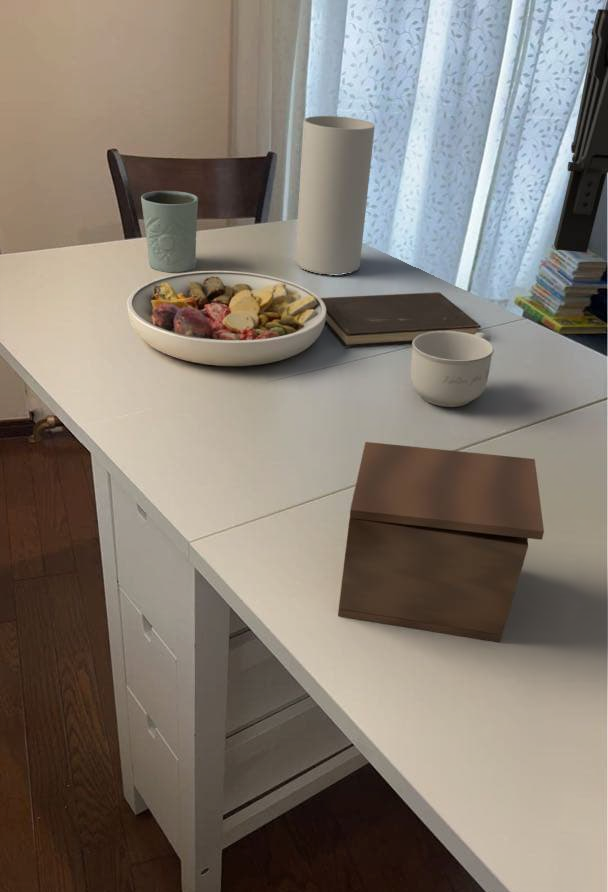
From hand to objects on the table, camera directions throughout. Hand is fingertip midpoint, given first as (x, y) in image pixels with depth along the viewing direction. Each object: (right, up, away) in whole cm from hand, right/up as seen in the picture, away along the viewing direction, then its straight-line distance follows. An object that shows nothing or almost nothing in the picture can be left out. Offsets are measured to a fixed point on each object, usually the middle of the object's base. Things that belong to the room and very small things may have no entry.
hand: (570, 248), depth 72 cm
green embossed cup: (-49, +25, +78) cm, 95 cm away
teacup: (-3, -6, +41) cm, 41 cm away
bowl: (-36, +6, +53) cm, 64 cm away
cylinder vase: (-19, +27, +83) cm, 89 cm away
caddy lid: (-11, -22, -1) cm, 25 cm away
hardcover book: (-9, +9, +61) cm, 62 cm away
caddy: (-13, -31, +5) cm, 34 cm away
